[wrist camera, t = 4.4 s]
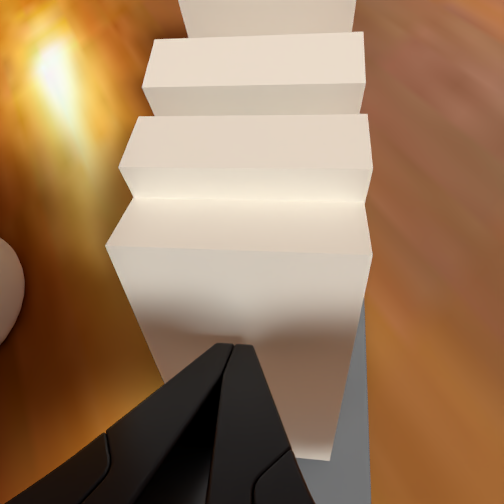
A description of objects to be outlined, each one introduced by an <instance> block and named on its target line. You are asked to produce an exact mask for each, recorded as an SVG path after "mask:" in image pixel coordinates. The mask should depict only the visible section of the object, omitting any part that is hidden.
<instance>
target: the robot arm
mask: <svg viewBox="0 0 504 504" xmlns="http://www.w3.org/2000/svg"><path fill="white" fill-rule="evenodd" d="M5 504H316V503H315V501H314V499H313V497H312V496H311V494H310V491H309V489H308V487H307V484H306V482H305V480H304V477H303V475H302V472H301V470H300V468H299V465H298V462H297V460H296V457H295V454H294V452H293V451H292V447H291V444H290V442H289V439H288V436H287V434H286V431H285V428H284V426H283V423H282V421H281V418H280V415H279V413H278V410H277V407H276V405H275V402H274V399H273V397H272V394H271V391H270V389H269V386H268V383H267V381H266V378H265V375H264V373H263V370H262V367H261V365H260V362H259V359H258V357H257V354H256V351H255V349H254V347H253V345H250V344H236V345H235V346H234V344H232V343H216V344H214V345H213V346H212V347H210V348H209V349H208V350H207V351H205V352H204V353H203V354H202V355H200V356H199V357H198V358H196V359H195V360H194V361H193V362H191V363H190V364H189V365H188V366H186V367H185V368H184V369H183V370H181V371H180V372H179V373H178V374H176V375H175V376H174V377H173V378H171V379H170V380H169V381H168V382H166V383H165V384H164V385H162V386H161V387H160V388H159V389H157V390H156V391H155V392H154V393H152V394H151V395H150V396H149V397H147V398H146V399H145V400H144V401H142V402H141V403H140V404H139V405H137V406H136V407H135V408H134V409H132V410H131V411H130V412H129V413H127V414H126V415H125V416H123V417H122V418H121V419H120V420H118V421H117V422H116V423H115V424H113V425H112V426H111V427H110V428H108V429H107V430H106V433H102V434H101V435H99V436H98V437H97V438H96V439H94V440H93V441H92V442H91V443H89V444H88V445H87V446H85V447H84V448H83V449H81V450H80V451H79V452H78V453H76V454H75V455H74V456H72V457H71V458H70V459H68V460H67V461H66V462H64V463H63V464H62V465H60V466H59V467H57V468H56V469H55V470H53V471H52V472H50V473H49V474H47V475H46V476H45V477H43V478H42V479H40V480H39V481H37V482H36V483H35V484H33V485H32V486H30V487H29V488H27V489H26V490H24V491H23V492H21V493H20V494H18V495H17V496H15V497H14V498H12V499H11V500H9V501H8V502H6V503H5Z"/></svg>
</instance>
